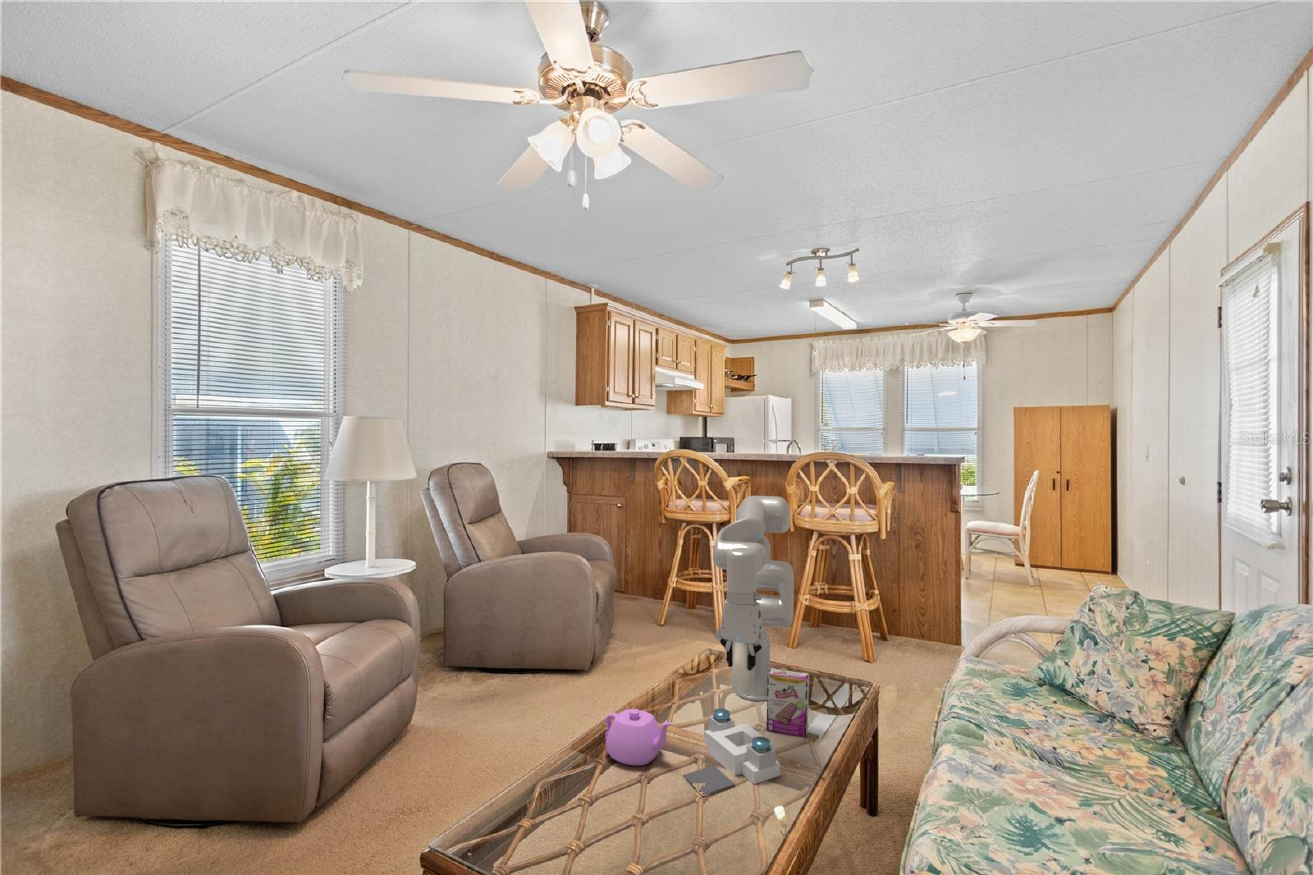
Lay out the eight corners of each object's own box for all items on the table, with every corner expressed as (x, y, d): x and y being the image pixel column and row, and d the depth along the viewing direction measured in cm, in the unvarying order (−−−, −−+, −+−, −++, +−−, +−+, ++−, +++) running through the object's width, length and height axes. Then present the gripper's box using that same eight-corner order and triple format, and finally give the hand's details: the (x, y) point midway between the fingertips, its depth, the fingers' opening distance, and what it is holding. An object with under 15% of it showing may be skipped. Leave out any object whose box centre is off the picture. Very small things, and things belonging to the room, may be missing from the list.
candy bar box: (766, 732, 171) (766, 673, 170) (768, 723, 176) (769, 667, 175) (807, 738, 167) (807, 679, 167) (808, 730, 172) (809, 672, 172)
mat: (682, 777, 149) (682, 774, 149) (713, 767, 153) (713, 765, 153) (703, 797, 141) (703, 794, 141) (734, 786, 145) (734, 783, 145)
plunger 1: (710, 728, 166) (710, 710, 166) (723, 725, 168) (723, 707, 168) (719, 736, 162) (719, 717, 162) (732, 732, 164) (733, 713, 164)
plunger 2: (748, 759, 151) (748, 739, 151) (762, 754, 153) (762, 734, 153) (759, 768, 147) (759, 747, 147) (773, 763, 149) (773, 743, 149)
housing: (697, 743, 164) (697, 719, 164) (734, 733, 170) (734, 710, 170) (747, 786, 145) (747, 759, 145) (786, 773, 151) (786, 747, 150)
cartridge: (735, 683, 161) (735, 627, 160) (752, 686, 159) (752, 629, 158) (729, 690, 156) (729, 633, 156) (746, 694, 154) (747, 635, 154)
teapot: (591, 759, 157) (591, 713, 156) (618, 735, 168) (618, 693, 168) (660, 780, 147) (660, 732, 147) (683, 754, 159) (684, 709, 159)
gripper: (777, 597, 156) (777, 667, 157) (714, 589, 164) (714, 656, 164) (770, 605, 150) (769, 678, 150) (705, 596, 157) (705, 666, 157)
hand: (741, 666), depth 157 cm, fingers closed on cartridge, 4 cm apart
